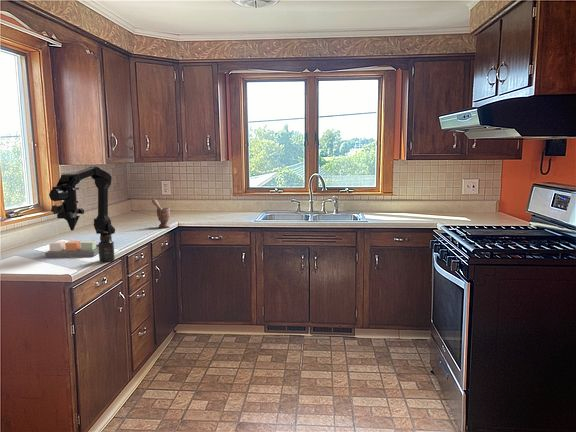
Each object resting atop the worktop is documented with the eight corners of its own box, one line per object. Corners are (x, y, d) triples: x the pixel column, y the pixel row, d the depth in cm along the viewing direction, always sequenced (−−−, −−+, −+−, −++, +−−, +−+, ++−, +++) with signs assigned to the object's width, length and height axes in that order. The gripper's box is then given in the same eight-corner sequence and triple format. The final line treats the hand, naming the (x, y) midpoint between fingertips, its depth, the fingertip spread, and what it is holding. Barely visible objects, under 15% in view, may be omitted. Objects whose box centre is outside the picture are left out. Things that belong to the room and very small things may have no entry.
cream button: (54, 249, 224) (54, 241, 223) (65, 248, 224) (65, 241, 224) (49, 251, 219) (49, 243, 218) (61, 251, 219) (60, 243, 218)
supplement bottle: (116, 258, 214) (115, 234, 212) (111, 262, 207) (110, 237, 205) (102, 259, 214) (100, 234, 212) (96, 262, 207) (95, 237, 205)
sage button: (85, 248, 225) (84, 240, 225) (96, 248, 226) (95, 240, 225) (81, 250, 220) (80, 242, 219) (92, 250, 220) (92, 242, 220)
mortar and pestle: (161, 229, 292) (160, 199, 289) (151, 228, 296) (150, 199, 293) (173, 227, 302) (172, 197, 299) (163, 226, 306) (162, 197, 303)
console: (54, 252, 226) (53, 248, 226) (100, 251, 228) (100, 247, 228) (45, 257, 217) (45, 252, 216) (94, 256, 219) (93, 251, 218)
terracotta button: (70, 248, 225) (69, 241, 224) (81, 248, 225) (80, 240, 224) (65, 251, 219) (65, 243, 219) (77, 250, 220) (76, 243, 219)
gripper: (61, 197, 228) (63, 227, 230) (44, 201, 209) (46, 233, 211) (83, 197, 229) (85, 227, 231) (68, 201, 210) (71, 233, 212)
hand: (72, 230), depth 221 cm, fingers closed
